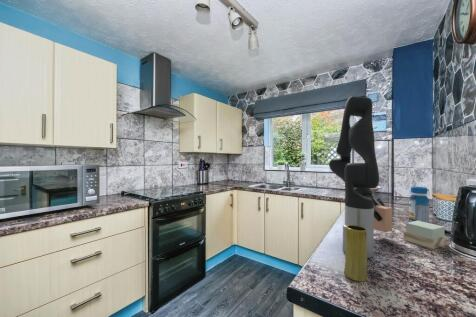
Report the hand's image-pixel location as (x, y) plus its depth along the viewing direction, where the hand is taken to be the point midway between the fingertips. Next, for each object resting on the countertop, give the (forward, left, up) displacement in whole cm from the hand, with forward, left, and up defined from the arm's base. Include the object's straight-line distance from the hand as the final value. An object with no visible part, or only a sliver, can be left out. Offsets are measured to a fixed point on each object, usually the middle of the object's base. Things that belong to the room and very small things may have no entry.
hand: (384, 219), depth 89 cm
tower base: (+12, -9, -9) cm, 17 cm away
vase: (-39, -15, -9) cm, 42 cm away
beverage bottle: (+39, +6, -9) cm, 41 cm away
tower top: (+11, -9, -5) cm, 15 cm away
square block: (0, +1, -5) cm, 5 cm away
